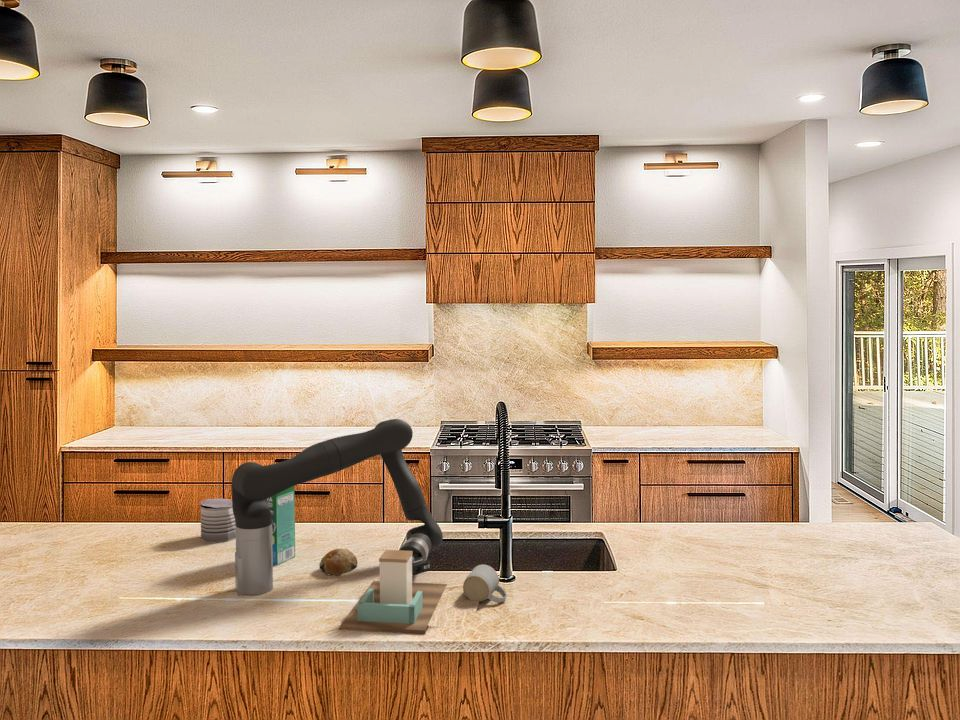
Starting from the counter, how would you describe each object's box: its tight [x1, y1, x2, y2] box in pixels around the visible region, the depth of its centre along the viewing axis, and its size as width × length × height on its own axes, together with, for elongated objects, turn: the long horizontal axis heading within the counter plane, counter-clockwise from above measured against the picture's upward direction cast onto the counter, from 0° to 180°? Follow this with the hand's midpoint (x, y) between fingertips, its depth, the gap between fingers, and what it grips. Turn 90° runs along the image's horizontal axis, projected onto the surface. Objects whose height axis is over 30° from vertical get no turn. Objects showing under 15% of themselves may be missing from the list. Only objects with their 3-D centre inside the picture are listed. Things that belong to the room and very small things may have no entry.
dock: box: [357, 588, 423, 624], centre depth 182 cm, size 10×13×4 cm
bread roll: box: [318, 548, 358, 576], centre depth 216 cm, size 10×10×8 cm
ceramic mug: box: [462, 564, 508, 604], centre depth 194 cm, size 11×8×8 cm
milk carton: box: [267, 486, 296, 566], centre depth 224 cm, size 9×9×25 cm
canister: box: [378, 549, 413, 605], centre depth 187 cm, size 7×7×13 cm
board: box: [339, 580, 447, 635], centre depth 189 cm, size 30×20×1 cm, turn 173°
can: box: [199, 498, 236, 544], centre depth 246 cm, size 11×11×12 cm
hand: (398, 576), depth 191 cm, fingers closed
